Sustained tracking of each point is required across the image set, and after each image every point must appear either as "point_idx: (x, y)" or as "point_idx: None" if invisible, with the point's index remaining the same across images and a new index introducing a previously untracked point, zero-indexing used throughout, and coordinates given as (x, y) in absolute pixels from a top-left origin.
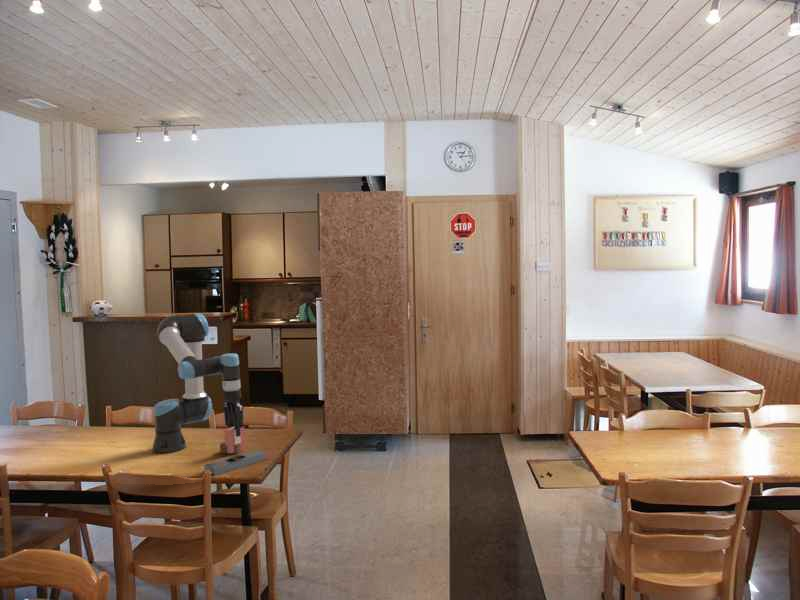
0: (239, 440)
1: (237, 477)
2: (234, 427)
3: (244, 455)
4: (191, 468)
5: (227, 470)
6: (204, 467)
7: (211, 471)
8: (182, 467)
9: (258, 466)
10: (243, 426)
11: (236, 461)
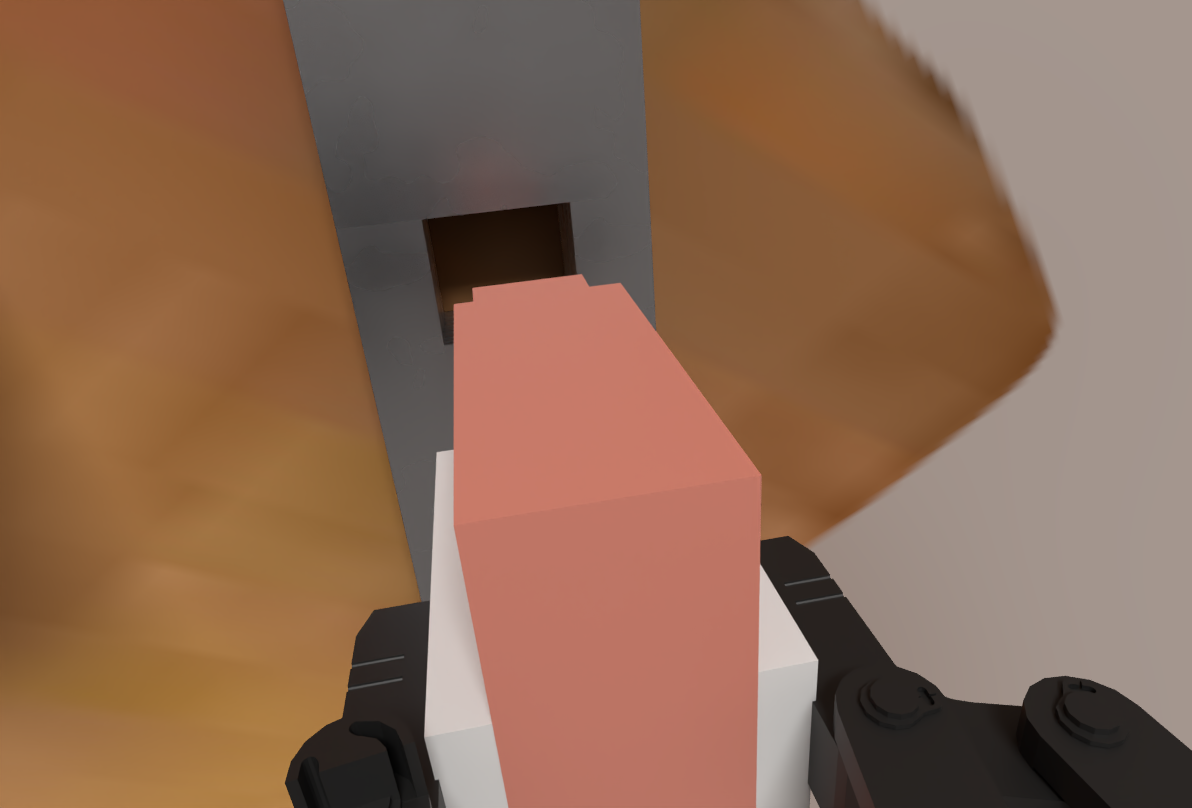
0: None
1: (895, 477)
2: (554, 761)
3: (455, 189)
4: (211, 732)
5: None
6: None
7: None
8: (96, 791)
9: (790, 124)
10: (729, 492)
11: None
